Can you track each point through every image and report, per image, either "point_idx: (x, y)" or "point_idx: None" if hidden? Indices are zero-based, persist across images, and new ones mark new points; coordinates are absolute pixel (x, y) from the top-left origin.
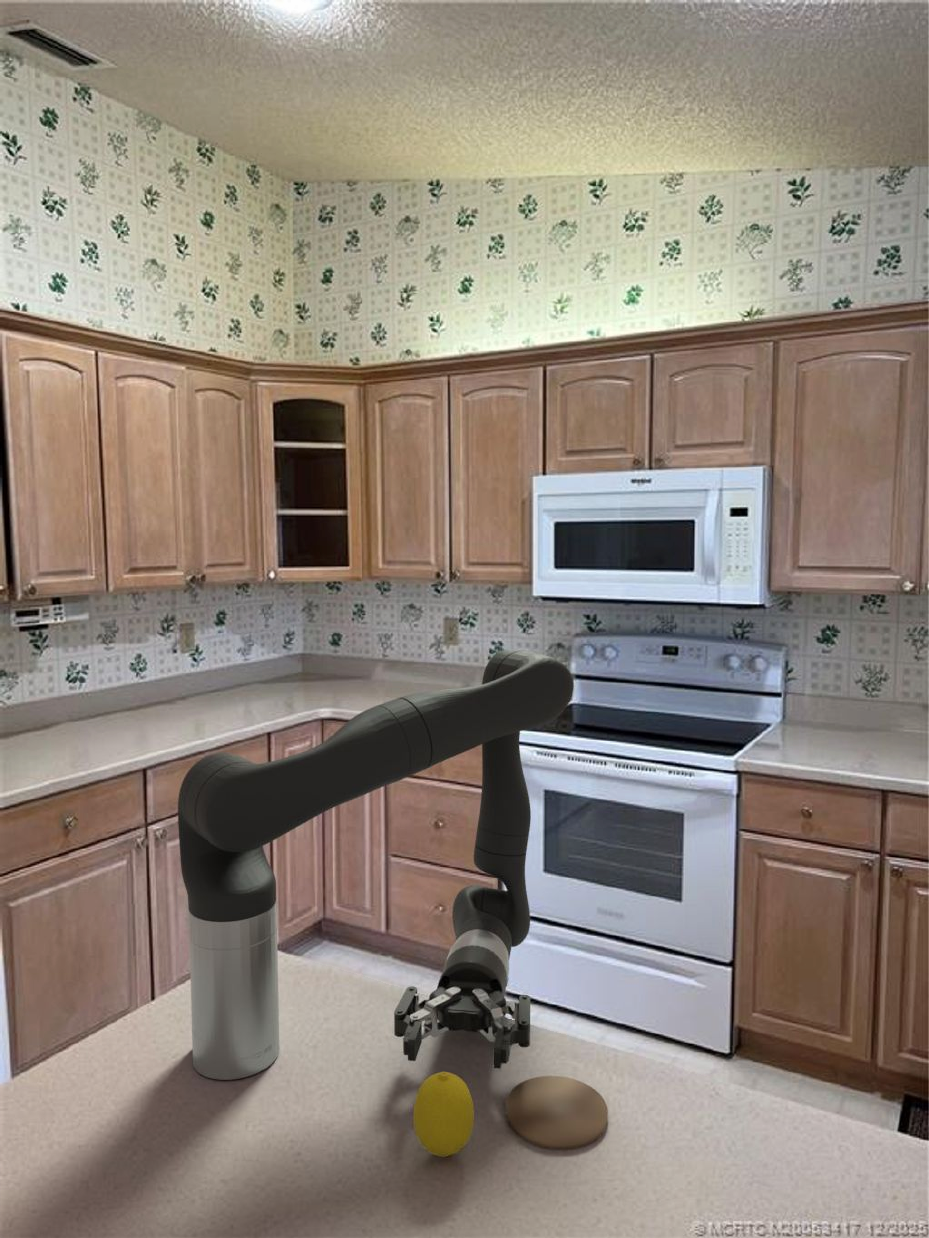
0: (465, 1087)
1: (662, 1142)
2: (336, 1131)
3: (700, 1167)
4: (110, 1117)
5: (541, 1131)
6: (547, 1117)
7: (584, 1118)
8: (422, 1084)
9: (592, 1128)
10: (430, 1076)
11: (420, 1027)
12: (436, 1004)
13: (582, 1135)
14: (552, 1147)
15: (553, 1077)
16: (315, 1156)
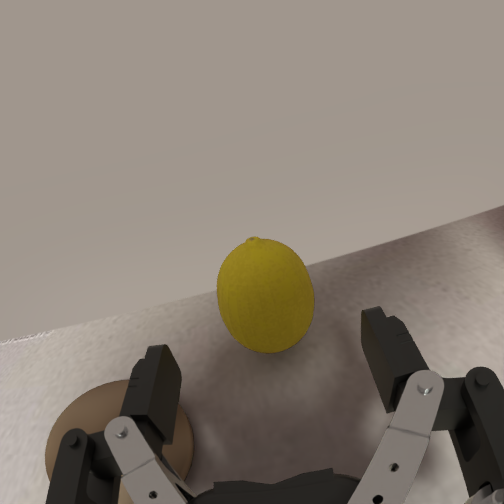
0: (221, 270)
1: (23, 408)
2: (436, 327)
3: (14, 381)
4: None
5: None
6: None
7: (79, 421)
8: (294, 255)
9: (76, 405)
10: (282, 255)
11: (387, 370)
12: (383, 445)
13: (91, 393)
14: None
15: None
16: (426, 293)
